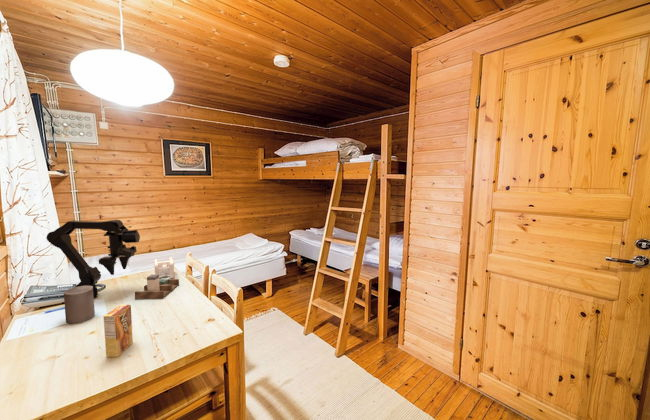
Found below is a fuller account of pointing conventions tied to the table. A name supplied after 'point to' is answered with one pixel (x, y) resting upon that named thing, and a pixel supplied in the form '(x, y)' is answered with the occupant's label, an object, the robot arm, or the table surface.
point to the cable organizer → (164, 268)
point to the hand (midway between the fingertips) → (118, 271)
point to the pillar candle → (79, 304)
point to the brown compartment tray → (165, 289)
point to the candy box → (118, 330)
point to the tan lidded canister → (153, 283)
